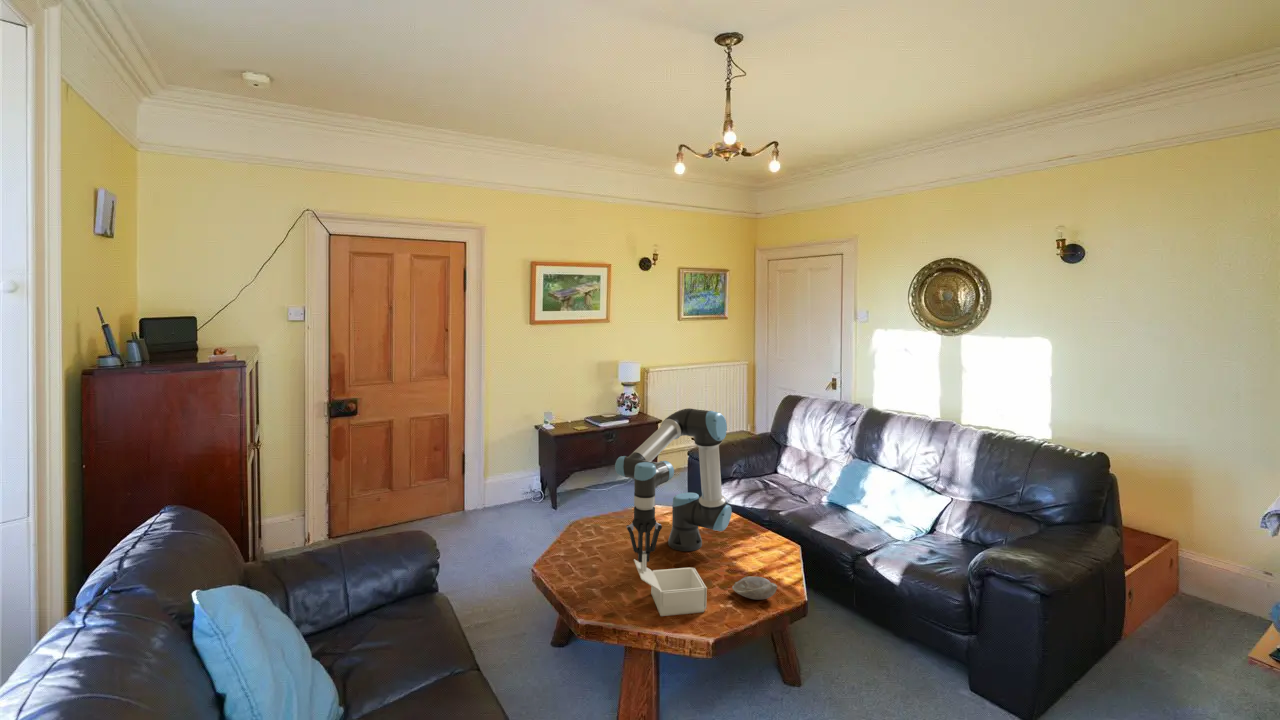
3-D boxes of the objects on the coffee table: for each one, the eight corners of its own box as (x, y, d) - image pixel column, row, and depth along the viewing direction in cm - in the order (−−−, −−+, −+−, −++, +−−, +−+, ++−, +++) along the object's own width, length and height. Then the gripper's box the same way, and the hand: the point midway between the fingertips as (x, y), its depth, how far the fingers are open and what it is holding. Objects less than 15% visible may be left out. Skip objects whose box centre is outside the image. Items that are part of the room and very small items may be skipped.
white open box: (693, 588, 229) (694, 566, 228) (707, 612, 212) (707, 588, 211) (650, 592, 226) (651, 570, 225) (660, 617, 209) (661, 592, 208)
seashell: (726, 581, 225) (755, 570, 216) (746, 579, 233) (775, 568, 224) (733, 607, 221) (763, 596, 212) (754, 604, 228) (783, 593, 219)
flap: (634, 558, 222) (633, 559, 222) (641, 578, 207) (641, 579, 207) (650, 569, 224) (650, 570, 224) (659, 589, 208) (659, 590, 208)
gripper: (660, 502, 217) (659, 564, 219) (624, 503, 215) (623, 566, 217) (664, 509, 210) (663, 573, 212) (628, 511, 207) (627, 576, 210)
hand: (643, 570), depth 215 cm, fingers closed
